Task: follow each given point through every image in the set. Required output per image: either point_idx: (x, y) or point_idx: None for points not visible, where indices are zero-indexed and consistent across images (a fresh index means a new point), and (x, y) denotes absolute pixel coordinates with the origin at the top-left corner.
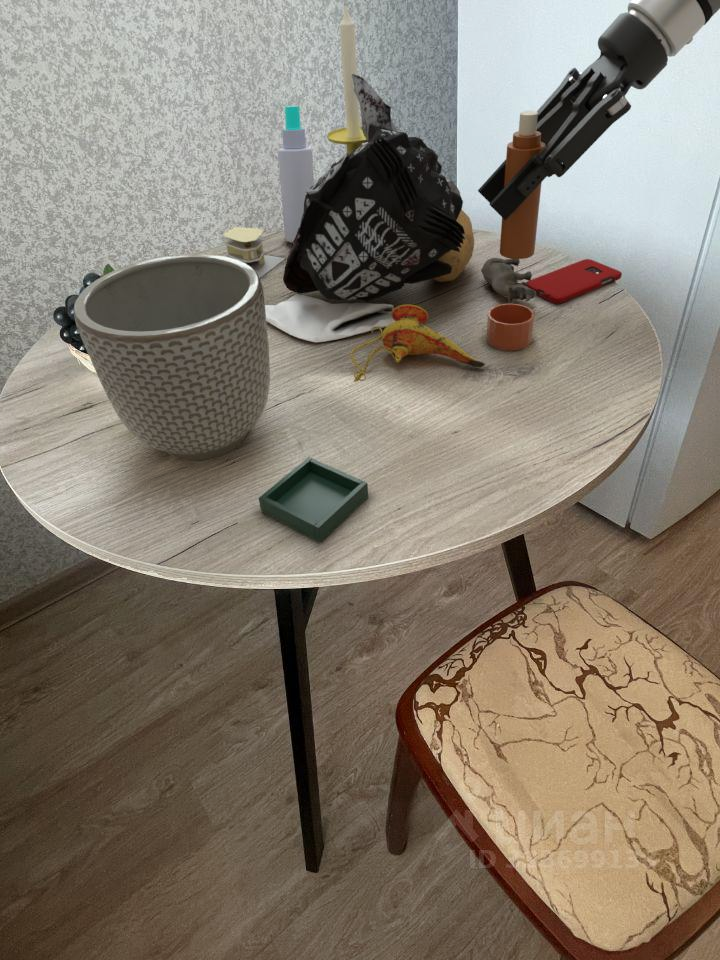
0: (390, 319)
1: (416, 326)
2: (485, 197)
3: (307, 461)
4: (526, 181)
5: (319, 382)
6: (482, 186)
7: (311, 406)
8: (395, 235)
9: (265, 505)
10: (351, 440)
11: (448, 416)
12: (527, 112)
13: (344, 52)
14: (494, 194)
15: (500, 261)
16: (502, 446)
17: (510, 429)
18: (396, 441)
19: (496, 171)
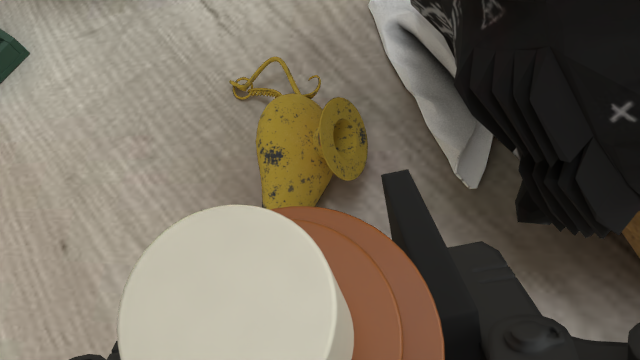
0: (442, 123)
1: (261, 147)
2: (387, 211)
3: (4, 38)
4: (116, 343)
5: (245, 33)
6: (404, 181)
7: (179, 32)
8: (451, 9)
9: None
10: (82, 95)
11: (109, 237)
12: (248, 294)
13: None
14: None
15: None
16: (7, 322)
17: (47, 343)
18: (64, 156)
19: (414, 221)
